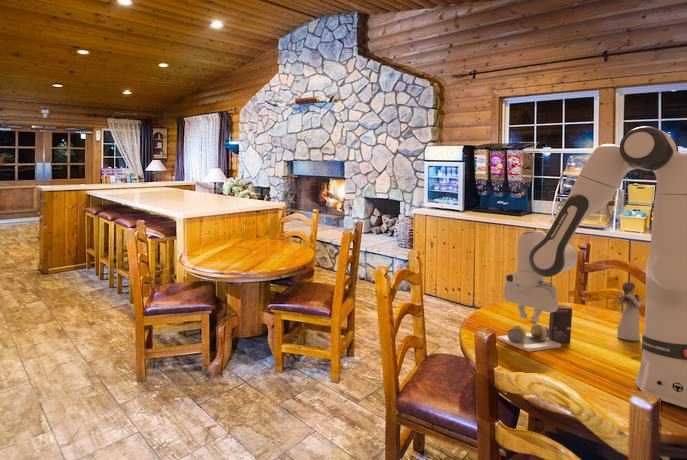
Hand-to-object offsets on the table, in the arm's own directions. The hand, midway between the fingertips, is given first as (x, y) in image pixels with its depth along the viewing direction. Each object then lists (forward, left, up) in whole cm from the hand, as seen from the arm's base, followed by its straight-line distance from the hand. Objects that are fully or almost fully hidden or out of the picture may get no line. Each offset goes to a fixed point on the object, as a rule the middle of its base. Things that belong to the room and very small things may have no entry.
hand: (529, 319), depth 146 cm
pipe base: (0, 0, -8) cm, 8 cm away
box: (-2, -12, -8) cm, 15 cm away
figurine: (-8, -35, -8) cm, 37 cm away
